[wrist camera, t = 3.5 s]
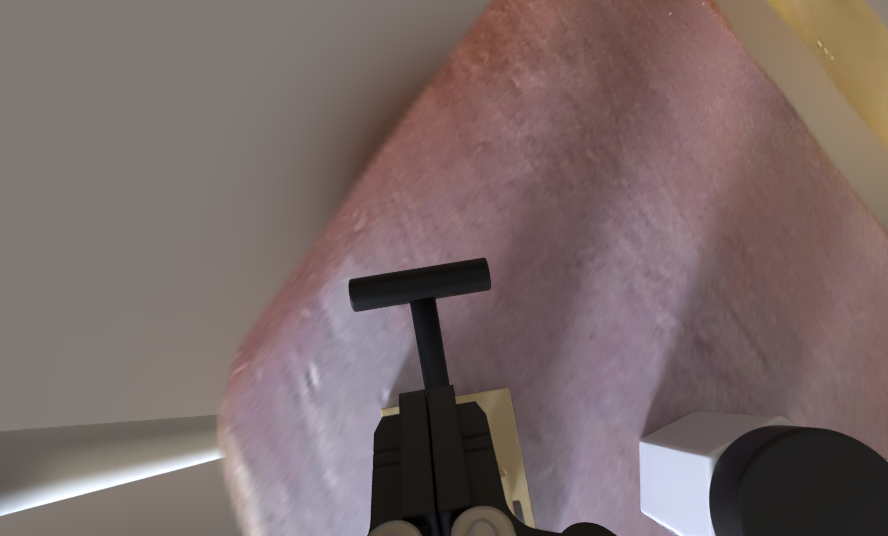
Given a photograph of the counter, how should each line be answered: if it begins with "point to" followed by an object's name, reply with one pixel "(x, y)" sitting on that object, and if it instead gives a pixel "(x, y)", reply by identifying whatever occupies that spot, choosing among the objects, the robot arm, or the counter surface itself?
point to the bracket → (501, 448)
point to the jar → (761, 479)
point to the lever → (423, 304)
